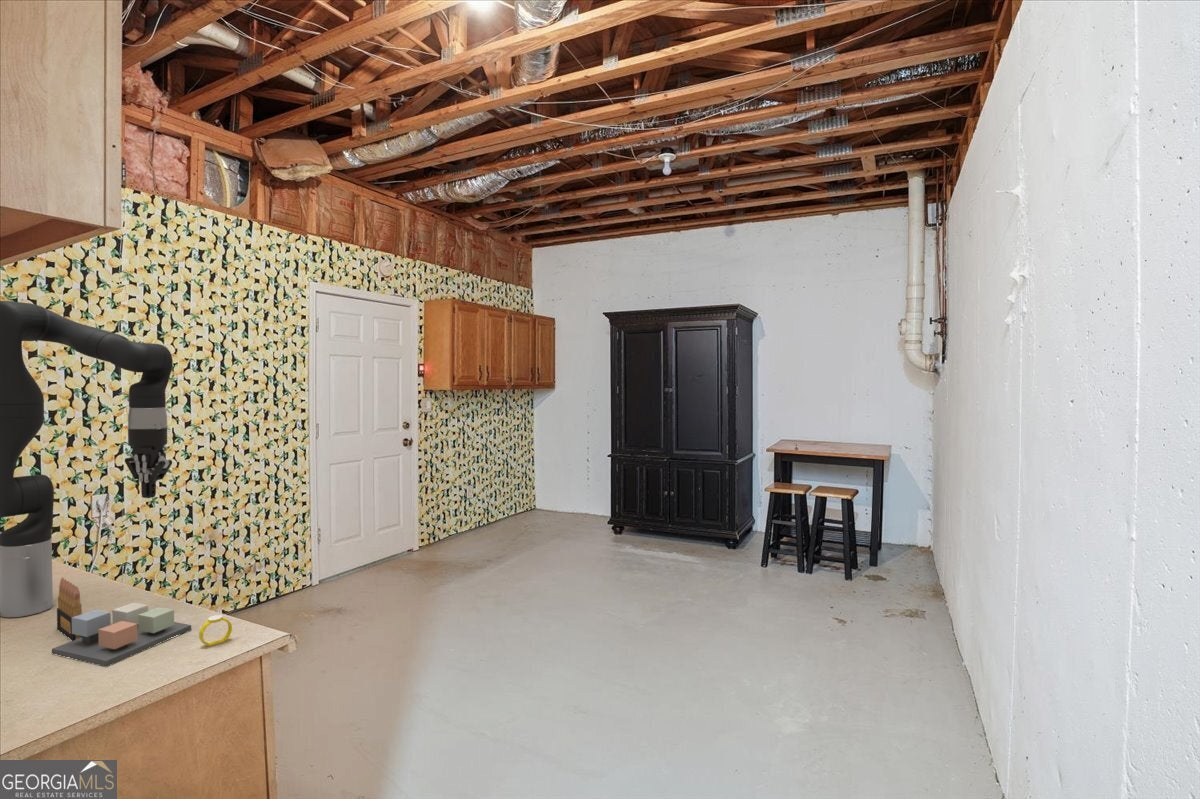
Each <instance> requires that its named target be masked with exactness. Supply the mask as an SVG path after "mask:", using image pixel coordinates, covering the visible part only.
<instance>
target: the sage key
mask: <svg viewBox="0 0 1200 799" xmlns="http://www.w3.org/2000/svg"><path fill="white" fill-rule="evenodd" d="M174 622H175V610H174V609H171V608H167V607H160V606H158V607H155V608H152V609H149V610H148V611H147V612H144V613H142V614H139V615H138V630H140V631H145V632H150V633H156V632H158V631H160V630H163V629H165V628H168V627H170V626H173V625H174Z"/></svg>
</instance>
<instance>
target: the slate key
mask: <svg viewBox="0 0 1200 799" xmlns="http://www.w3.org/2000/svg"><path fill="white" fill-rule="evenodd" d="M111 612H112V611H104V610H99V609H93V610H90V611H87V612H85V613H82V614H81V615H78V616H75V617H72V634H75V635H80V636H85V637H88V636H91V635H94V634H96V633H98V629H101V628H104V627H107V626H109V625H112V621H111V618H112V617H111V616H112V615H111Z"/></svg>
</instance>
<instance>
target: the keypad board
mask: <svg viewBox="0 0 1200 799" xmlns="http://www.w3.org/2000/svg"><path fill="white" fill-rule="evenodd" d="M137 631H138V640H136V641H134V642H131V643H129V644H126V645H124V646H121V647H119V648H117V649H111V648H106V647H101V646H99V633H96V634H94V635H91V636H88V637H85V636H82V638H79V639H76V640H74V641H71V640H70V641H68V642H66V643H63V644H61V645H57V646H55V647H53V648H51V654H52V653H53V654H57V655H61V656H60V657H62V656H65V657H64V658H66V657H70V658H73V659H72V660H75V659H77V660H76V661H79V660H81V661H80V662H83V661H86V662H85V663H88V662H90V663H89V664H92V663H94V664H93V665H96V664H100V665H99V666H101V665H103V666H102V667H105V666H107V667H109V666H111V665H110V664H112V665H113V663H114V664H116V663H118V661H119V662H121V661H123V660H125V659H124V658H126V659H127V657H128V658H130V657H132V656H131V655H133V656H134V654H135V655H137V654H139V653H138V652H140V651H142V650H144V649H146V650H148V649H147V648H149V647H151V646H153V647H155V646H154V645H156V644H158V643H160V642H163V641H165V640H167V639H169V638H171V637H174V636H176V635H179V634H181V635H183V634H182V633H184V632H186V633H188V632H191V631H192V625H191V624H186V623H183V622H176V621H174V625H173V626H170V627H168V628H165V629H163V630H160V631H158V632H156V633H150V632H145V631H140V630H138V624H137ZM187 631H188V632H187ZM184 634H185V633H184ZM179 636H180V635H179ZM174 638H175V637H174ZM167 641H168V640H167ZM165 642H166V641H165ZM163 643H164V642H163ZM160 644H161V643H160ZM158 645H159V644H158ZM156 646H157V645H156ZM151 648H152V647H151ZM149 649H150V648H149ZM144 651H145V650H144ZM142 652H143V651H142ZM136 653H137V654H136ZM140 653H141V652H140ZM53 654H52V655H53ZM57 655H56V656H57ZM129 656H130V657H129ZM70 658H69V659H70ZM122 659H123V660H122ZM120 660H121V661H120ZM108 665H109V666H108Z"/></svg>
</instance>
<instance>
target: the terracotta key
mask: <svg viewBox="0 0 1200 799" xmlns="http://www.w3.org/2000/svg"><path fill="white" fill-rule="evenodd" d="M98 633H99V646H101V647H106V648H111V649H117V648H119V647H121V646H124V645H126V644H129V643H131V642H134V641H136V640H138V631H137V624H136V623H131V622H125V621H120V622H117V623H115V624H113V623H111V625H109V626H107V627H104V628H101V629H98Z"/></svg>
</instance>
